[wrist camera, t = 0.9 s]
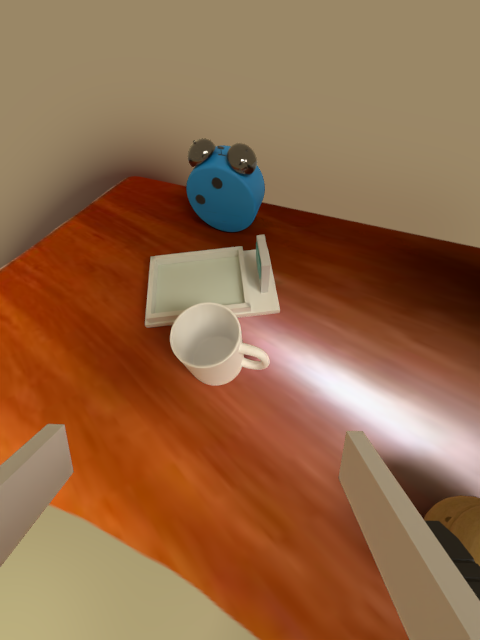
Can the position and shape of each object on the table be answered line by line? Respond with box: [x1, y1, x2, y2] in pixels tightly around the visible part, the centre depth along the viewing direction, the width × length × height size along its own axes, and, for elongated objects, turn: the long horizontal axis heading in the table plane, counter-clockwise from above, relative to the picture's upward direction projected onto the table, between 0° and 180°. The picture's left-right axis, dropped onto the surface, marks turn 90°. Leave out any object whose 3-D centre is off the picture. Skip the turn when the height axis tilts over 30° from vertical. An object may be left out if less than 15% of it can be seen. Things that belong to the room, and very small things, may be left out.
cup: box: [170, 302, 269, 386], centre depth 32 cm, size 8×12×10 cm
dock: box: [145, 235, 280, 328], centre depth 39 cm, size 22×13×8 cm, turn 96°
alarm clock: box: [186, 138, 265, 232], centre depth 43 cm, size 13×6×15 cm, turn 71°
